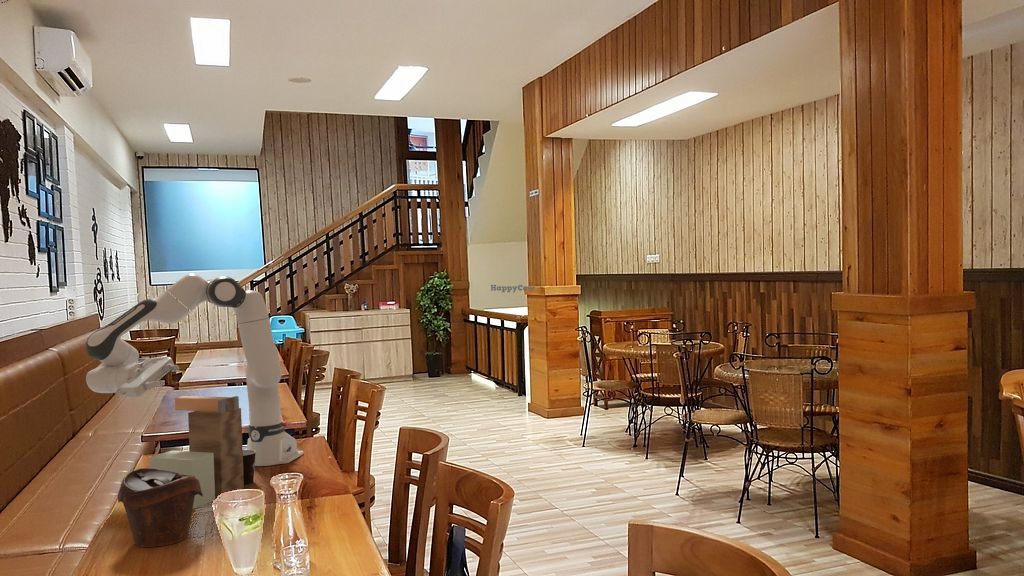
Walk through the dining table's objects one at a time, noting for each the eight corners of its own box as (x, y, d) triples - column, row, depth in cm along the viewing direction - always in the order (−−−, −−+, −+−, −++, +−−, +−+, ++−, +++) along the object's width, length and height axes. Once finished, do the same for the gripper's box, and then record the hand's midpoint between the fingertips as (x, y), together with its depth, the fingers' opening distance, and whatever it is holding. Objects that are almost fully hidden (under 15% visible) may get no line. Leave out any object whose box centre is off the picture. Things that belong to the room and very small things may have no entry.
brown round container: (199, 545, 183) (197, 474, 183) (111, 556, 177) (108, 483, 177) (208, 524, 200) (205, 459, 200) (128, 534, 194) (125, 467, 194)
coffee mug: (247, 486, 235) (246, 456, 235) (223, 486, 237) (222, 455, 237) (266, 477, 246) (265, 447, 246) (243, 476, 248) (242, 447, 248)
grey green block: (173, 496, 227) (172, 450, 227) (215, 499, 222) (213, 452, 221) (150, 505, 218) (149, 457, 218) (193, 509, 213) (191, 460, 213)
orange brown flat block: (189, 406, 238) (188, 394, 238) (238, 408, 232) (238, 396, 232) (170, 411, 231) (169, 398, 231) (221, 413, 224) (221, 400, 224)
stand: (213, 486, 237) (210, 407, 237) (243, 488, 233) (241, 408, 233) (191, 495, 228) (188, 412, 227) (222, 497, 224) (219, 414, 224)
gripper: (108, 386, 230) (146, 383, 227) (147, 355, 248) (183, 352, 245) (116, 403, 232) (153, 400, 229) (154, 370, 251) (189, 368, 248)
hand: (169, 375), depth 237 cm, fingers open, 8 cm apart
